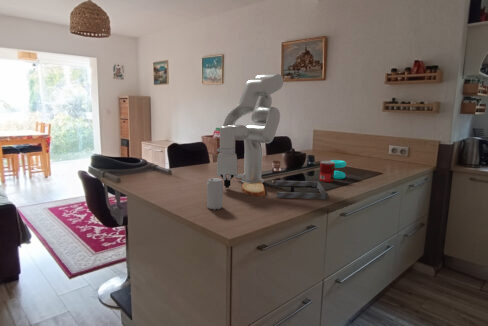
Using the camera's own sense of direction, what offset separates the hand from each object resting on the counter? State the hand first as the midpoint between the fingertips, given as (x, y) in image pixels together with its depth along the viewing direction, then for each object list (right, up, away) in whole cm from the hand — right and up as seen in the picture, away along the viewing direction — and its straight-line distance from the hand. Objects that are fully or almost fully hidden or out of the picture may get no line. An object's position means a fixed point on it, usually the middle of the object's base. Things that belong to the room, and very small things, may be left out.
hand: (227, 187), depth 164 cm
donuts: (+64, +3, +32) cm, 72 cm away
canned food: (+56, +2, +23) cm, 60 cm away
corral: (+35, -2, -2) cm, 35 cm away
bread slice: (+14, -2, -1) cm, 14 cm away
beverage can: (-4, -6, -29) cm, 30 cm away
